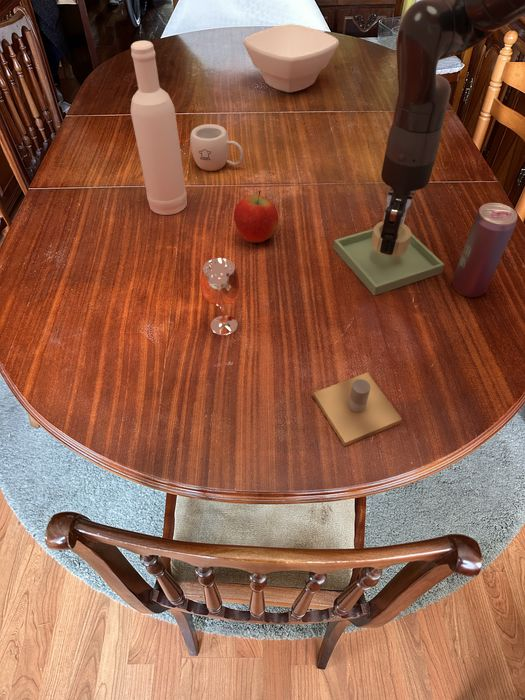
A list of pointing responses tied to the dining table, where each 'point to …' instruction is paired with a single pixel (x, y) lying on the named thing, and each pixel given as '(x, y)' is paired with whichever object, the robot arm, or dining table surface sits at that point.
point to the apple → (256, 218)
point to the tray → (386, 263)
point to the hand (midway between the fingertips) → (390, 240)
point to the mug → (212, 147)
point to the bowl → (290, 55)
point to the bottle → (156, 135)
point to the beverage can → (484, 249)
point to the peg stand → (356, 408)
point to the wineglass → (220, 291)
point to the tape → (401, 241)
